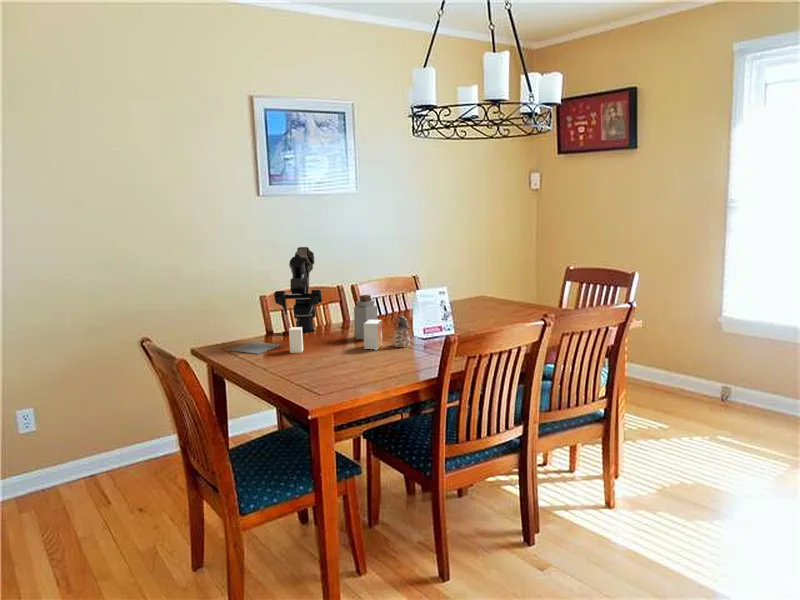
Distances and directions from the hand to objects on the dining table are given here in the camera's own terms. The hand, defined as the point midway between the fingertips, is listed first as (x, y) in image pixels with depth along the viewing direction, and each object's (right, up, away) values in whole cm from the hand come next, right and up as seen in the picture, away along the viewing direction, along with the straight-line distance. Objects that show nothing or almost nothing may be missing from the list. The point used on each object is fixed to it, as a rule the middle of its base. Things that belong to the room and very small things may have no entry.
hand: (297, 314), depth 251 cm
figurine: (+41, -13, -2) cm, 43 cm away
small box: (+30, -13, -4) cm, 33 cm away
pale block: (+1, -14, -6) cm, 16 cm away
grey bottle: (+27, -11, +12) cm, 31 cm away
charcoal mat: (-16, -14, 0) cm, 21 cm away
